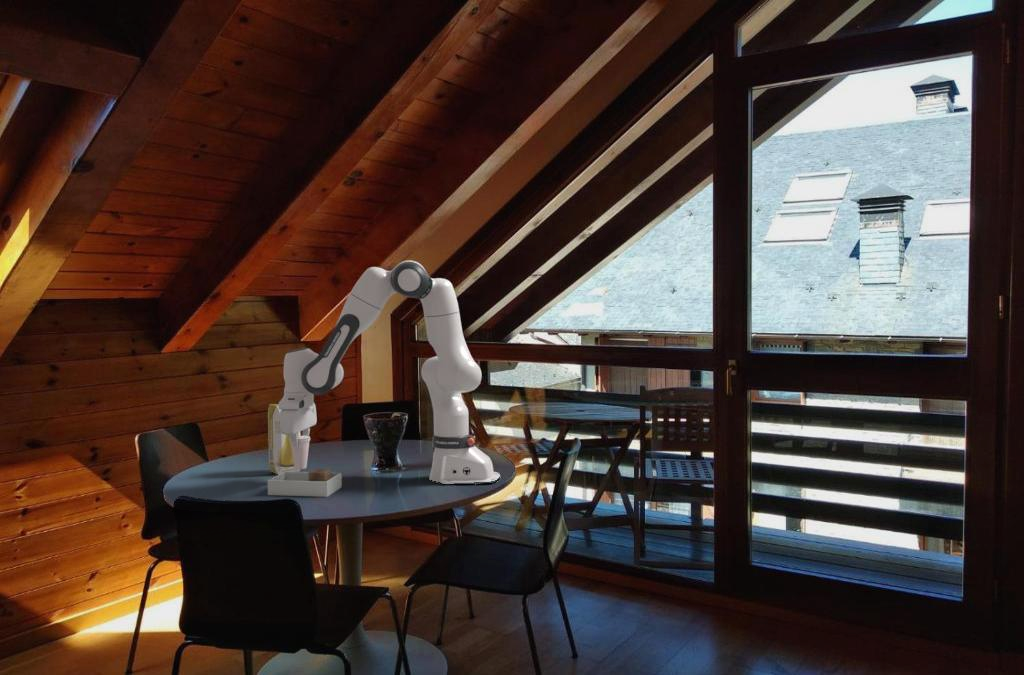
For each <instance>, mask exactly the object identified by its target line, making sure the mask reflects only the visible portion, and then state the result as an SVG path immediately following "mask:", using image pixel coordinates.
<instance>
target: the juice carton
mask: <svg viewBox="0 0 1024 675" xmlns="http://www.w3.org/2000/svg"><path fill="white" fill-rule="evenodd" d="M278 404H279V403H278ZM278 404H277V403H270V404H269V405H268V412H267V431H268V432H267V435H268V436H267V438H268V465H269V470H270V472H271V473H272V472H273V473H272V474H274V473H275V475H277V474H278V475H279V474H281V473H283V472H301V471H300V470H301V469H294V463H293V456H292V449H291V442H290V441H289V440H290V437H289V435H283V434H282V432H281V427H280V411H281V409H279V408H278ZM299 436H301V431H300V432H299Z"/></svg>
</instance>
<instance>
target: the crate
mask: <svg viewBox="0 0 1024 675" xmlns="http://www.w3.org/2000/svg"><path fill="white" fill-rule="evenodd" d="M309 472H310V471H299V472H283V473H281V474H279V475H277V474H276V475H275V476H273V477H272V478H270V479H267V495H268V496H294V497H322V498H324V497H326V498H328V497H330V496H331V495H332V494H334V493H336V492H337V491H338V490H340V489H342V486H343V485H342V484H343V483H342V481H343V480H342V478H343V476H342V472H331V479H329V480H328V481H326V482H322V481H308V473H309Z"/></svg>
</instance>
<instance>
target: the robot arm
mask: <svg viewBox="0 0 1024 675" xmlns="http://www.w3.org/2000/svg"><path fill="white" fill-rule="evenodd" d="M395 294H399V295H401V296H403V297H405V298H413V299H418V300H420V302H421V305H422V309H423V310H422V311H423V316H424V322H425V330H426V335H427V340H428V343H429V345H430V346H431V347H432V348H433V350H434V352H435V354H436V355H435V356H432V357H429V358H428V359H427V360H425V361H424V363H423V364H422V367H421V372H420V374H421V378H422V380H423V381H424V383H425V384H426V387H427V389H428V393H429V397H430V401H431V407H432V411H433V434H432V438H431V443H432V444H431V446H432V448H431V449H432V452H433V453H432V454H433V456H432V464H431V468H430V475H429V480H430V481H431V480H432V481H431V482H434V481H436V482H435V483H438V482H440V483H442V484H454V483H474V482H491V481H495V480H497V479H498V478H499V477H500V478H501V474H500V472H497V471H494V465H493V461H492V459H491V458H490V456H489V455H487V454H486V453H485V452H483V451H482V450H480V449H479V447H477V446H475V445H476V436H475V435H472V434H470V428H469V427H470V426H469V423H470V421H469V417H470V416H469V414H470V413H469V408H468V406H467V405H466V404H465V401H464V399H463V396H462V393H463V394H464V393H469V392H472V391H475V390H476V389H477V388H478V387H479V386H480V384H481V381H482V377H483V376H482V375H483V374H482V370H481V367H480V366H479V365H478V363H477V362H476V361H475V360H474V358H473V356H472V355H471V352H470V350H469V348H468V345H467V343H466V340H465V339H466V338H465V337H464V333H463V332H464V331H463V327H462V321H461V314H460V307H459V302H458V300H457V299H458V298H457V296H456V295H457V294H456V292H455V288H454V286H453V283H451V281H450V280H449V279H446V278H442V277H436V278H432V277H431V276H430V275H429V274H428V272H427V270H426V269H425V268H424V266H423V265H422V264H421V263H419V262H418V261H415V260H411V259H409V260H403V261H400V262H399V263H398V264H397V265H395V266H394V267H392V268H390V269H389V270H387V269H384V268H382V267H378V266H371V267H368V268H366V270H365V271H363V273H362V274H361V276H360V277H359V279H358V280H357V281H356V282H355V284H354V286H353V287H352V289H351V291H350V292H349V294H348V296H347V298H346V300H345V302H344V304H343V308H342V311H341V312H340V315H339V318H338V320H337V322H336V324H335V327H334V329H333V330H332V332H331V334H330V336H329V338H328V339H327V341H326V343H325V344H324V345H323V348H322V349H321V351H320V352H319V353H317V352H314V351H313V350H312V349H310V348H308V347H301V348H296V349H292V350H289V351H287V352H286V354H285V356H284V360H283V379H284V383H285V384H284V389H283V397H282V398H281V399H280V400H279V402H278V408H279V409H281V411H280V427H281V432H282V434H283V435H289V437H290V439H291V443H292V447H297V446H299V441H298V439H297V436H298V432H300V433H301V432H302V434H301V436H310V431H311V427H313V426H316V424H317V422H318V418H317V407H316V403H315V401H314V398H315V396H316V395H317V396H323V395H325V394H327V393H329V392H330V391H331V390H333V389H334V388H336V387H337V386H339V385H340V384H341V383H342V381H343V379H344V375H345V371H344V370H345V369H344V367H343V365H342V363H340V362H341V360H342V359H343V357H344V355H345V353H346V352H347V350H348V348H349V346H350V345H351V344H352V342H353V341H354V340H355V339H357V337H358V336H360V335H361V334H362V333H364V332H365V331H367V330H368V329H369V328H370V327H371V326H372V325H373V324H374V323H375V322H376V321H377V319H378V318H379V316H380V315H381V313H382V311H383V309H384V307H385V305H386V304H387V302H388V301H389V299H390V298H391V297H392V296H393V295H395ZM440 483H439V484H440ZM442 484H441V485H442Z"/></svg>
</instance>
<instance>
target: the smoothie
mask: <svg viewBox="0 0 1024 675" xmlns="http://www.w3.org/2000/svg"><path fill="white" fill-rule="evenodd" d="M297 439H298V441H299V446H297V447H292V443H291V449H292V456H293V463H294V469H300V470H303V469H307V465H308V458H309V448H310V441H311V436H310V435H309V436H302V435H300V436H299V432H298V436H297ZM289 441H290V442H291V439H290V440H289Z"/></svg>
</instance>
